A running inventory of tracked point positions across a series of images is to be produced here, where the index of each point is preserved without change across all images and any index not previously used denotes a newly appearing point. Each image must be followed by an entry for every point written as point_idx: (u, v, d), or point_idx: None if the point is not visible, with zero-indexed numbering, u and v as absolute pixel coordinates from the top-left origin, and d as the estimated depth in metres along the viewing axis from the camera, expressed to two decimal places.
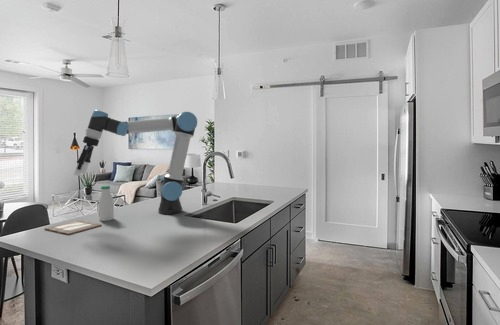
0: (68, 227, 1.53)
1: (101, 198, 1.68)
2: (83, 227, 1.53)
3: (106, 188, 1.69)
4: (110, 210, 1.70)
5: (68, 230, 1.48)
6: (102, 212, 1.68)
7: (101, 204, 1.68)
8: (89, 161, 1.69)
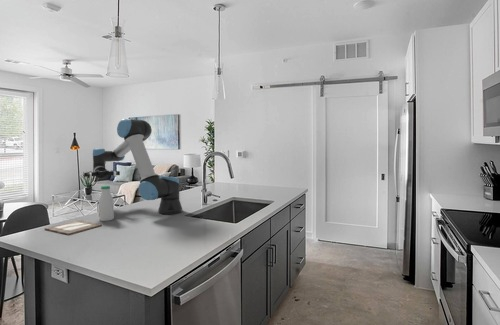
0: (68, 227, 1.53)
1: (101, 198, 1.68)
2: (83, 227, 1.53)
3: (106, 188, 1.69)
4: (110, 210, 1.70)
5: (68, 230, 1.48)
6: (102, 212, 1.68)
7: (101, 204, 1.68)
8: (116, 171, 1.89)
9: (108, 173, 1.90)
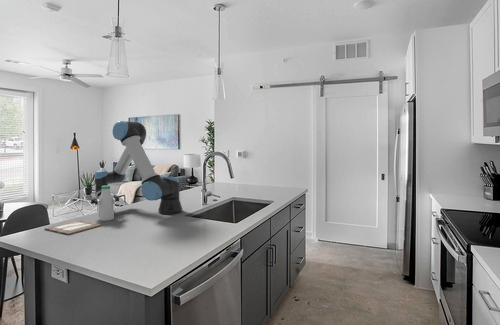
0: (68, 227, 1.53)
1: (101, 198, 1.68)
2: (83, 227, 1.53)
3: (106, 188, 1.69)
4: (110, 210, 1.70)
5: (68, 230, 1.48)
6: (103, 212, 1.68)
7: (101, 204, 1.68)
8: None
9: None
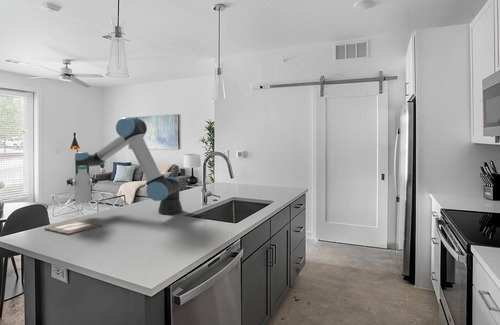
0: (68, 227, 1.53)
1: (77, 178, 1.57)
2: (83, 227, 1.53)
3: (82, 168, 1.58)
4: (86, 192, 1.59)
5: (68, 230, 1.48)
6: (78, 193, 1.57)
7: (77, 185, 1.57)
8: None
9: None
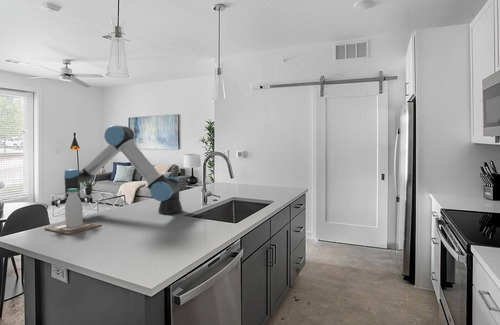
0: (68, 227, 1.53)
1: (67, 202, 1.52)
2: (83, 227, 1.53)
3: (73, 191, 1.53)
4: (78, 215, 1.53)
5: (68, 230, 1.48)
6: (69, 218, 1.52)
7: (68, 209, 1.51)
8: None
9: None
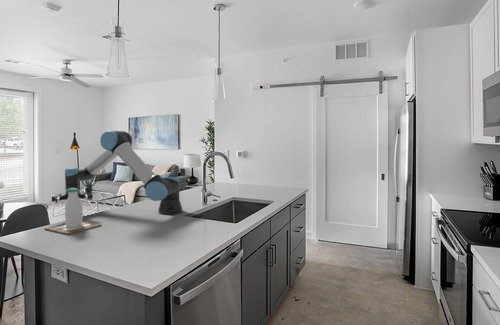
0: None
1: (67, 202, 1.52)
2: (83, 227, 1.53)
3: (73, 191, 1.53)
4: (78, 215, 1.53)
5: (68, 230, 1.48)
6: (69, 218, 1.52)
7: (68, 209, 1.51)
8: None
9: (80, 196, 1.74)
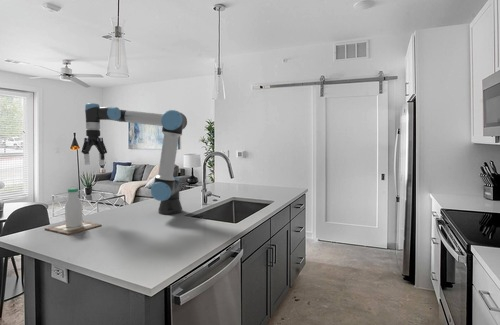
0: None
1: (67, 202, 1.52)
2: (83, 227, 1.53)
3: (73, 191, 1.53)
4: (78, 215, 1.53)
5: (68, 230, 1.48)
6: (69, 218, 1.52)
7: (68, 209, 1.51)
8: None
9: (89, 146, 1.78)
